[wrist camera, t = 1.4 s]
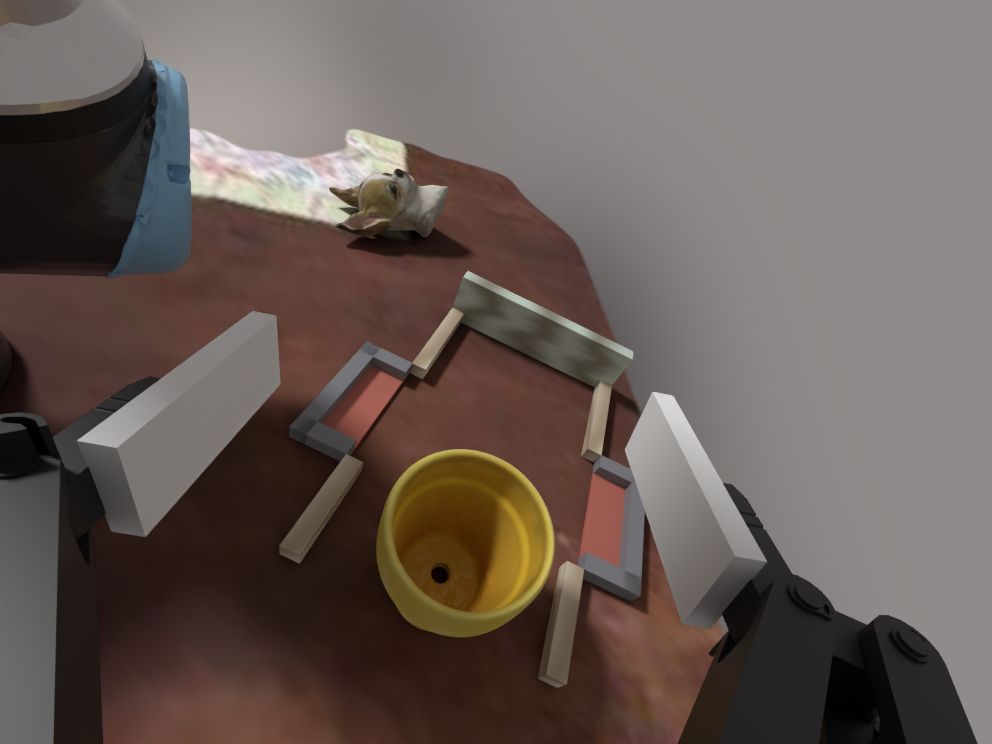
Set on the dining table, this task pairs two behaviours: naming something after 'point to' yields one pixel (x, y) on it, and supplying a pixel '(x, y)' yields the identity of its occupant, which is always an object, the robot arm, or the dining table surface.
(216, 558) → the dining table surface
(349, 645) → the dining table surface
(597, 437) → the box
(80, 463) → the robot arm
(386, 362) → the trap bays
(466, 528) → the plant pot
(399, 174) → the ceramic sculpture
